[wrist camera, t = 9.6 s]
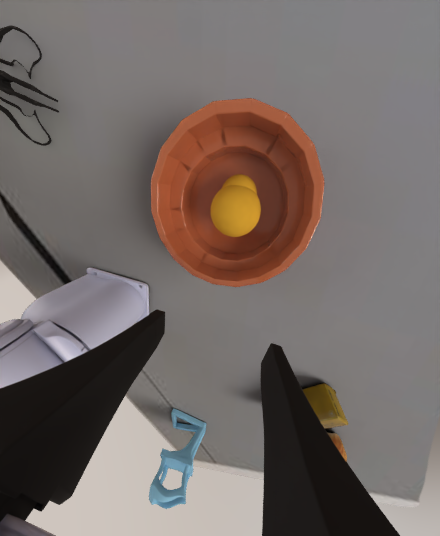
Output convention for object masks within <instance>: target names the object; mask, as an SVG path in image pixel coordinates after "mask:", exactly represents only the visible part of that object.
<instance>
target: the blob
mask: <svg viewBox="0 0 440 536" xmlns="http://www.w3.org/2000/svg"><path fill="white" fill-rule="evenodd" d="M260 214H261V205H260V201H259V198H258V196H257V190H256V186H255V183H254V182H253V180H252V179H251V178H249V177H248V176H246V175H243V174H237V175H233V176H231V177H230V178H228V179H227V180H226V181H225V183H224V185H223V187H222V189H221V190H219V191H218V193H217V194H216V195H215V197H214V199H213V201H212V204H211V218H212V221H213V224H214V225H215V227H216V228H217V229H218V230H219V231H220V232H221V233H223V234H224V235H227V236H230V237H239V236H243V235H245V234H247V233H249V232H250V231H251V230H252V229H253V228H254V227H255V226H256V224H257V223H258V221H259V218H260Z"/></svg>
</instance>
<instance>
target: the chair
mask: <svg viewBox="0 0 440 536" xmlns="http://www.w3.org/2000/svg"><path fill="white" fill-rule="evenodd" d="M171 414H172V421H173V427H174V428H176V429H181V430H186V431H192V432H196V433H195V434H194V436H193V437H192V439H191V440H190V442H189V443H188V444H187V446H186V447H185V448H184V449H182V450H180V451H168V450H165V449H162V452H161V455H160V456H161V458H162V461H161V466H160V468H159V471H158V473H157V474H156V476H155V478H154V480H153V482H152V484H151V487H150V492H149V500H150V502H151V504H152V505H153V504H158V505H159V506H161V507H163V508H166V509H167V508H171V507H173V506H175V505H178V504H185V503H186V501H185V500H186V499H185V498H186V487H187V482H188V479H189V477H190V476H192V473H193V458H194V456H195V453H196V451H197V449H198V447H199V444H200V442H201V440H202V438H203V436H204V434H205V431H206V428H205V427H206V423H205V422H202V421H200V420H198V419H196V418H194V417H191V416H189V415H187V414H185V413H183V412H181V411H179V410H177V409H174V408H173V410H172V413H171ZM176 416H177V417H179V418H181V419H183V420H185V421H187V422H189V423H191V424H193V425H188V424H181V423H177V421H176ZM168 468H170V469H175V470H178V471H181V472H182V473H183V476H182V486H181V487H180V488H178V489H174V490H167V489H166V488H164V487H163V486H162V483H163V481H164V479H165V477H166V474H167V470H168ZM163 469H164V470H163ZM162 471H163V474H162V477H161V479H160V481H159V476H160V474H161V473H162Z"/></svg>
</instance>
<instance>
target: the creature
mask: <svg viewBox="0 0 440 536" xmlns="http://www.w3.org/2000/svg"><path fill="white" fill-rule="evenodd" d="M12 29H15V30H17V31H20V32H22V33H24V34H26V35H27V36H28V37H29V38H30V39H31V40H32V41H33V42H34V43H35V41H34V40H33V39H32V38H31V37H30V36H29V35H28V34H27V33H26V32H24V31H23V30H21V29H20V28H18V27H15V26H7V27H4V28H1V29H0V42H1V41H2V38H3V35H5V34H6V33H8V32H9V31H10V30H12ZM35 45H36V46H37V44H36V43H35ZM37 48H38V50H39V52H40V58H39V59H38V60H36V61H35V62H33V64H32V66H31V69H30V72H27V73H28V75H29V77H30V79H31V71H32V68H33V66H34V65H35V64H37V63H38V62H39V61H40V59H41V51H40V49H39V47H38V46H37ZM14 61H16V60H13V61H12V62H8V61H5V60H3V59H0V62H1V63H4V64H7V65H10V66H13V65H14V64H13V62H14ZM17 62H18V61H17ZM18 63H19V62H18ZM19 64H20V63H19ZM21 65H22V64H21ZM25 70H26V69H25ZM11 82H15V83H17V84H19V85H21V86H23V87H25V88H28V89H30V90H33V91H35V92H37V93H39V94H41V95H44V96H46V97H47V98H49V99H52V100H54V101H56V102H58V100H56V99H54V98H52V97H50V96H48V95H46V94H44V93H42V92H41V91H40V90H38V89H37V88H35V87H34V86H33V85H31V84H28V83H26V82H24V81H22V80H19V79H17V78H14V77H12V76H10V75H9V74H7V73H6V72H4V71H2V70H0V90H1V91H3V92H5V93H7V94H9V95H14V96H16V97H18V98H20V99H23V100H25V101H27V102H29V103H31V104H33V105H36V106H41V107H46V108H48V109H51V110H53V111H56V112H59V111H58V110H56V109H53V108H51V107H49V106H46V105H44V104H42V103H39V102H37V101H35V100H33V99H30V98H29V97H27V96H25V95H22V94H19V93H17V92H15V91H14V90H13V89H12V88H11V84H10V83H11ZM0 99H1V100H2V101H4V102H6V103H8V104H10V105H12V106H14V107H16V108H18V109H19V110H20V111H21V112H22V110H21V108H20V107H19V106H17V105H15V104H13V103H11V102H9V101H7V100H5V99H3V98H2V97H0ZM0 110H1V111H2V112H4V113H5V114H6V115H7V116H8V117H9V118H10V120H11V121H12V122H13V123H14V124H15V126H16V127H17V128H18V129H19V130H20V131H21V132H22V133H23V134H24V135H25V136H26V137H27V138H29V139H30V140H31V141H33V140H32V139H31V138H30V137H29V136H28V135H27V134H26V133H25V132H24V131H23V130H22V129H21V127H20V126H19V124H18V123H17V121H16V120H15V118H14V117H13V116H12V114H11V113H10V112H9V111H8V110H7V109H6V108H4V107H3V106H1V105H0ZM22 114H23V112H22ZM23 115H24V114H23ZM33 115H35V116H36V118H37V120H38V122H39V123H40V121H39V119H38V117H37V114H36V111H35V110H34V114H33ZM25 116H26V115H25ZM29 117H30V116H29ZM40 125H41V123H40ZM41 127H42V128H43V126H42V125H41ZM43 130H44V131H45V132H46V130H45V129H44V128H43ZM46 134H47V135H48V137H49V141H48V142H47V143H45V144H41V143H39V142H36V141H33V142H34V143H37V144H39V145H48V144H50V143H51V138H50V136H49V134H48V133H47V132H46Z"/></svg>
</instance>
